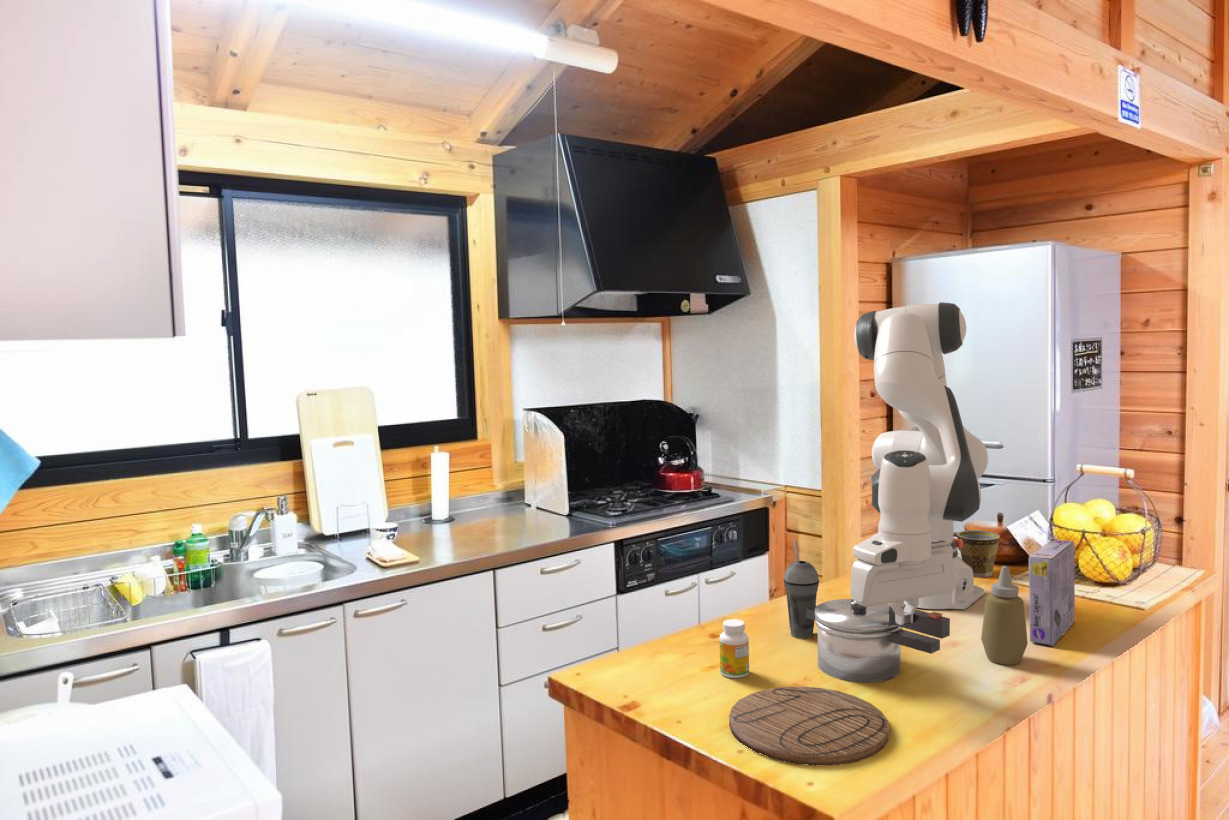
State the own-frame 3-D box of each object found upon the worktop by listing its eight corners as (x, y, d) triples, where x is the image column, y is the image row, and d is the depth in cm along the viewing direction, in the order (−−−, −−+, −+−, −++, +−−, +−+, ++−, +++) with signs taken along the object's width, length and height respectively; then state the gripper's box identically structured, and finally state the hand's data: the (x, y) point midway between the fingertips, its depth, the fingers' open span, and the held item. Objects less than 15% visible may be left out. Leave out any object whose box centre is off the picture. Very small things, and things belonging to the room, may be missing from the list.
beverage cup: (820, 641, 181) (819, 545, 179) (783, 640, 183) (782, 544, 181) (819, 629, 189) (818, 536, 187) (784, 628, 190) (783, 535, 188)
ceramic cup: (1007, 575, 223) (1008, 535, 222) (981, 581, 218) (982, 541, 217) (964, 563, 234) (964, 526, 233) (938, 569, 229) (938, 531, 228)
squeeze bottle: (991, 648, 175) (992, 558, 173) (1034, 659, 169) (1035, 566, 167) (973, 660, 169) (974, 567, 167) (1017, 671, 164) (1018, 575, 162)
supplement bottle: (714, 670, 168) (713, 620, 167) (739, 665, 170) (738, 616, 169) (729, 681, 163) (728, 629, 162) (754, 675, 165) (753, 624, 164)
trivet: (697, 726, 146) (697, 715, 146) (798, 684, 161) (798, 674, 161) (818, 786, 127) (818, 773, 126) (921, 732, 142) (921, 721, 142)
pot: (835, 640, 182) (835, 597, 181) (958, 678, 161) (959, 630, 160) (785, 661, 171) (785, 615, 171) (910, 704, 151) (910, 653, 150)
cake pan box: (1051, 616, 192) (1053, 536, 190) (1077, 621, 189) (1079, 539, 187) (1026, 643, 177) (1027, 556, 176) (1053, 648, 174) (1055, 559, 172)
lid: (850, 599, 178) (850, 575, 178) (971, 632, 158) (971, 606, 157) (797, 617, 169) (796, 592, 168) (918, 655, 148) (918, 627, 148)
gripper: (939, 535, 162) (938, 609, 163) (845, 548, 154) (845, 626, 156) (964, 542, 156) (964, 619, 157) (868, 556, 148) (868, 637, 150)
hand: (904, 623), depth 156 cm, fingers closed
